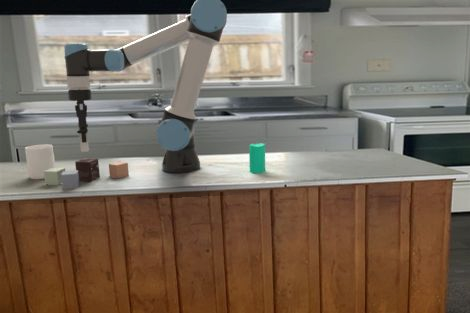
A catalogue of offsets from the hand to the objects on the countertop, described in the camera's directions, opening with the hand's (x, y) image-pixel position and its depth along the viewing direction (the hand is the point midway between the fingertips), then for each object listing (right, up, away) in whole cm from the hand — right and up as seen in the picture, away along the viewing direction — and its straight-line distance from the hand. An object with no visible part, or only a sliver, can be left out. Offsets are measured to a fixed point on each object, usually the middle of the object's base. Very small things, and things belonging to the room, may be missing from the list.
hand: (84, 148), depth 148 cm
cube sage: (-10, -13, -1) cm, 16 cm away
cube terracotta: (+11, -10, +7) cm, 16 cm away
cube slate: (-2, -13, -6) cm, 15 cm away
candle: (+63, -9, +8) cm, 65 cm away
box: (+1, -12, +3) cm, 12 cm away
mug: (-19, -11, +10) cm, 24 cm away
